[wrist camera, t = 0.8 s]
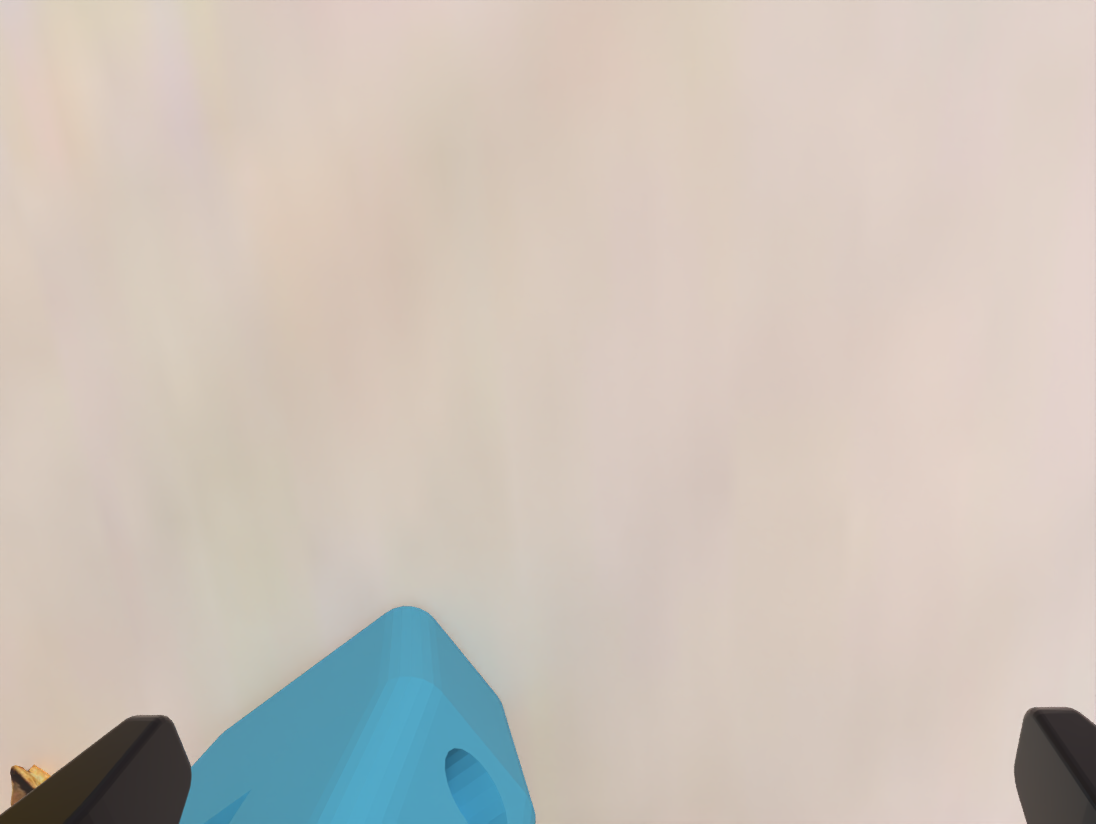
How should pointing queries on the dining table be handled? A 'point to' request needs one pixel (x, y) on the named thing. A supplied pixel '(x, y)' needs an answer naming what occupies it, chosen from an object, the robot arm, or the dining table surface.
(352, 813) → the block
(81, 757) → the robot arm
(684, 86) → the dining table surface
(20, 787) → the shard
